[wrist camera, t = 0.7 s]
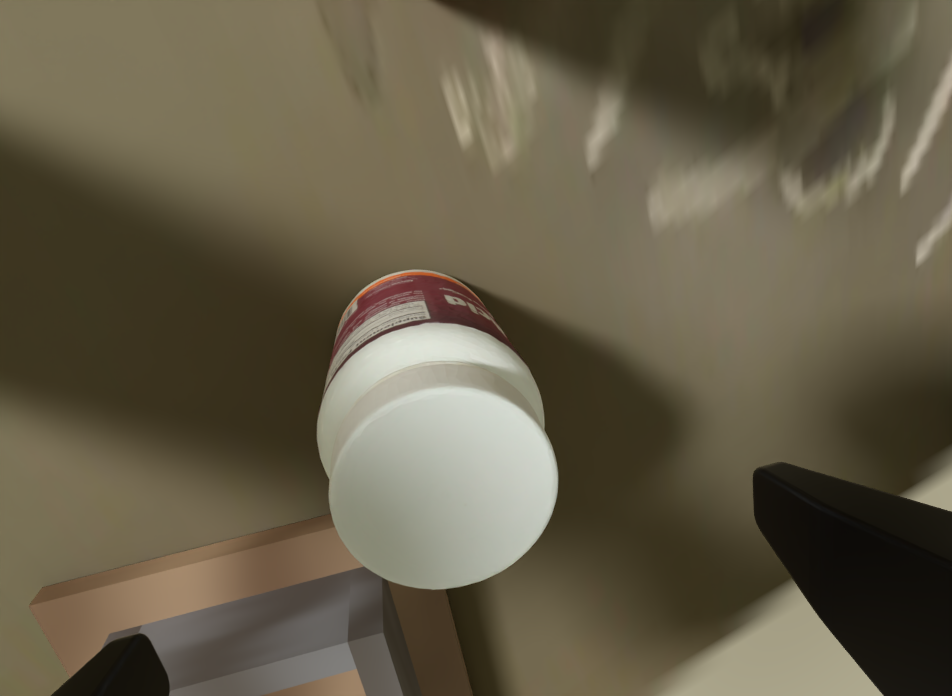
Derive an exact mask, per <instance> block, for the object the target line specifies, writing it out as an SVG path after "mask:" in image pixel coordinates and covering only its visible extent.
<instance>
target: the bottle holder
mask: <svg viewBox="0 0 952 696" xmlns="http://www.w3.org/2000/svg"><path fill="white" fill-rule="evenodd" d="M29 608H30V609H31V611H32V613H33V615H34V616H35V618H36V620H37V622H38V623H39V625H40V627H41V629H42V630H43V632H44V634H45V635H46V637H47V639H48V641H49V642H50V644H51V646H52V648H53V649H54V651H55V653H56V655H57V656H58V658H59V660H60V661H61V663H62V665H63V667H64V668H65V670H66V672H67V674H68V675H69V677H70V678H71V677H72V676H73V675H74V674H75V673H76V672H77V671H78V670H79V669H81V668H82V667H83V666H84V665H85V664H86V663H87V662H88V661H89V660H90V659H92V658H93V657H94V656H95V655H96V654H97V653H98V652H99V651H100V650H101V649H103V648H104V647H105V646H106V645H107V644H108V643H109V642H111V641H113V640H115V639H118V638H122V637H126V636H130V635H133V634H137V633H142V634H145V635H146V636H148V637H149V639H150V641H151V642H152V644H153V646H154V648H155V650H156V652H157V654H158V656H159V658H160V660H161V662H162V664H163V666H164V668H165V670H166V672H167V675H168V678H169V683H170V693H169V696H473V693H472V689H471V685H470V681H469V678H468V674H467V670H466V666H465V662H464V658H463V655H462V651H461V647H460V643H459V639H458V635H457V632H456V628H455V624H454V620H453V616H452V612H451V609H450V605H449V601H448V597H447V593H446V589H435V590H432V589H421V588H414V587H409V586H404V585H401V584H397V583H394V582H391V581H388V580H386V579H384V578H382V577H380V576H379V575H377V574H375V573H374V572H372V571H370V570H369V569H367V568H366V567H365V566H363V565H362V564H361V563H360V562H359V561H358V560H357V559H356V558H355V557H354V556H353V555H352V554H351V553H350V551H349V550H348V549H347V548H346V546H345V544H344V543H343V542H342V540H341V539H340V537H339V535H338V532H337V530H336V528H335V525H334V523H333V519H332V515H331V514H328V515H324V516H320V517H316V518H312V519H309V520H305V521H301V522H297V523H293V524H289V525H285V526H281V527H277V528H273V529H269V530H266V531H262V532H258V533H254V534H250V535H246V536H242V537H238V538H234V539H230V540H226V541H222V542H219V543H215V544H211V545H207V546H203V547H199V548H195V549H191V550H187V551H183V552H179V553H175V554H172V555H168V556H164V557H160V558H156V559H152V560H148V561H144V562H140V563H136V564H132V565H128V566H125V567H121V568H117V569H113V570H109V571H105V572H101V573H97V574H93V575H89V576H85V577H82V578H78V579H74V580H70V581H66V582H62V583H58V584H54V585H50V586H46V587H42V589H41V590H40V591H39V593H38V594H37V595H36V597H35V598H34V599H33V601H32V602H31V603H30V605H29Z"/></svg>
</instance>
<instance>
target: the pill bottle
mask: <svg viewBox="0 0 952 696" xmlns="http://www.w3.org/2000/svg"><path fill="white" fill-rule="evenodd" d="M544 428H545V422H544V410H543V404H542V399H541V395H540V392H539V390H538V387H537V385H536V383H535V380H534V378H533V376H532V374H531V372H530V369H529V367H528V366H527V364H526V363H525V361H524V360H523V359H522V357H521V356H520V355H519V354H518V352H517V351H516V350H515V349H514V347H513V346H512V344H511V343H510V342H509V340H508V338H507V336H506V335H505V333H504V332H503V331H502V329H501V328H500V326H499V325H498V324H497V322H496V321H495V319H494V318H493V316H492V315H491V314H490V312H489V311H488V310H487V309H486V307H485V306H484V304H483V303H482V302H481V300H480V299H479V298H478V297H477V296H476V295H475V294H474V293H473V292H472V291H471V290H470V289H469V288H468V287H467V286H465V285H464V284H462V283H461V282H460V281H458V280H456V279H454V278H453V277H451V276H448V275H445V274H442V273H439V272H435V271H429V270H406V271H400V272H396V273H392V274H389V275H386V276H384V277H382V278H380V279H378V280H376V281H374V282H372V283H371V284H369V285H368V286H366V287H365V288H364V289H362V290H361V291H360V292H359V293H358V294H357V295H356V296H355V298H354V299H353V300H352V301H351V303H350V304H349V305H348V307H347V308H346V310H345V312H344V314H343V316H342V318H341V320H340V323H339V326H338V330H337V334H336V338H335V343H334V347H333V352H332V356H331V360H330V365H329V370H328V374H327V379H326V384H325V389H324V393H323V397H322V401H321V405H320V408H319V412H318V418H317V445H318V450H319V455H320V459H321V461H322V464H323V467H324V469H325V471H326V474H327V476H328V478H329V480H330V481H329V505H330V511H331V515H332V519H333V523H334V525H335V528H336V530H337V532H338V535H339V537H340V539H341V540H342V542H343V543H344V544H345V546H346V548H347V549H348V550H349V551H350V553H351V554H352V555H353V556H354V557H355V558H356V559H357V560H358V561H359V562H360V563H361V564H362V565H363V566H365V567H366V568H367V569H369V570H370V571H372V572H374V573H375V574H377V575H379V576H380V577H382V578H384V579H386V580H388V581H391V582H394V583H397V584H401V585H404V586H409V587H414V588H421V589H432V590H435V589H448V588H456V587H461V586H466V585H469V584H472V583H476V582H480V581H482V580H485V579H487V578H489V577H491V576H493V575H495V574H497V573H499V572H501V571H503V570H505V569H506V568H508V567H509V566H511V565H512V564H514V563H515V562H516V561H517V560H518V559H519V558H521V557H522V556H523V555H524V554H525V553H526V552H527V551H528V550H529V549H530V548H531V547H532V546H533V545H534V543H535V542H536V541H537V540H538V538H539V537H540V535H541V534H542V533H543V531H544V529H545V528H546V526H547V524H548V522H549V520H550V518H551V515H552V513H553V509H554V506H555V503H556V499H557V494H558V468H557V462H556V457H555V453H554V450H553V447H552V445H551V443H550V440H549V438H548V436H547V434H546V432H545V430H544Z"/></svg>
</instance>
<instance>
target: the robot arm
mask: <svg viewBox="0 0 952 696" xmlns="http://www.w3.org/2000/svg"><path fill="white" fill-rule="evenodd" d="M753 501H754V516H755V520H756V523H757V525H758V527H759V529H760V531H761V532H762V534H763V535H764V537H765V538H766V540H767V541H768V543H769V544H770V546H771V547H772V549H773V550H774V552H775V553H776V555H777V556H778V558H779V559H780V561H781V562H782V564H783V565H784V567H785V568H786V570H787V571H788V572H789V574H790V575H791V577H792V578H793V580H794V581H795V583H796V584H797V586H798V587H799V589H800V590H801V592H802V593H803V595H804V596H805V598H806V599H807V601H808V602H809V603H810V605H811V606H812V608H813V609H814V611H815V612H816V613H817V615H818V616H819V618H820V619H821V620H822V621H823V623H824V624H825V625H826V626H827V628H828V629H829V630H830V631H831V632H832V634H833V635H834V636H835V637H836V639H837V640H838V641H839V642H840V643H841V645H842V646H843V647H844V648H845V650H846V651H847V652H848V653H849V654H850V655H851V657H852V658H853V659H854V660H855V662H856V663H857V664H858V665H859V666H860V668H861V669H862V670H863V671H864V673H865V674H866V675H867V676H868V677H869V679H870V680H871V681H872V682H873V683H874V685H875V686H876V687H877V688H878V689H879V691H880V692H881V693H882V694H883V695H884V696H952V512H951V511H947V510H944V509H941V508H937V507H933V506H930V505H927V504H923V503H920V502H917V501H913V500H910V499H907V498H903V497H900V496H896V495H893V494H890V493H886V492H883V491H879V490H876V489H873V488H869V487H866V486H862V485H859V484H856V483H852V482H849V481H845V480H842V479H839V478H835V477H832V476H828V475H825V474H822V473H818V472H815V471H811V470H808V469H805V468H801V467H798V466H794V465H791V464H788V463H784V462H777V463H773V464H769V465H766V466H762V467H758V468H757V469H756V470H755V471H754V473H753ZM169 693H170V683H169V678H168V675H167V672H166V670H165V668H164V666H163V664H162V662H161V660H160V658H159V656H158V654H157V652H156V650H155V648H154V646H153V644H152V642H151V641H150V639H149V637H148V636H146V635H145V634H142V633H137V634H133V635H130V636H126V637H122V638H118V639H115V640H113V641H111V642H109V643H108V644H107V645H106V646H105V647H104V648H103V649H101V650H100V651H99V652H98V653H97V654H96V655H95V656H94V657H93V658H92V659H90V660H89V661H88V662H87V663H86V664H85V665H84V666H83V667H82V668H81V669H79V670H78V671H77V672H76V673H75V674H74V675H73V676H72V677H71V678H70V679H68V680H67V681H66V682H65V683H64V684H63V685H62V686H61V687H60V688H59V689H57V690H56V691H55V692H54V693H53V694H52V695H51V696H169Z"/></svg>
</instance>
